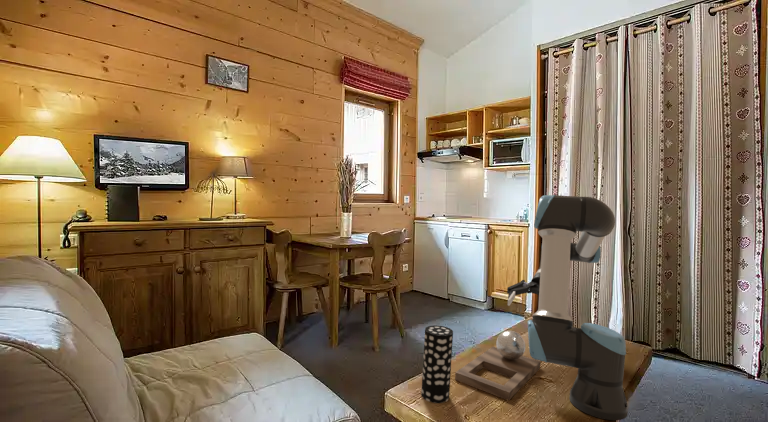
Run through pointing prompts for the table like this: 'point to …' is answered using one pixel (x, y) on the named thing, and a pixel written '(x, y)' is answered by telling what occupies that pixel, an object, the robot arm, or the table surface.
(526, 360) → the brown wooden frame
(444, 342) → the white-spotted black cylinder
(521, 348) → the steel ball
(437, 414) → the table surface
